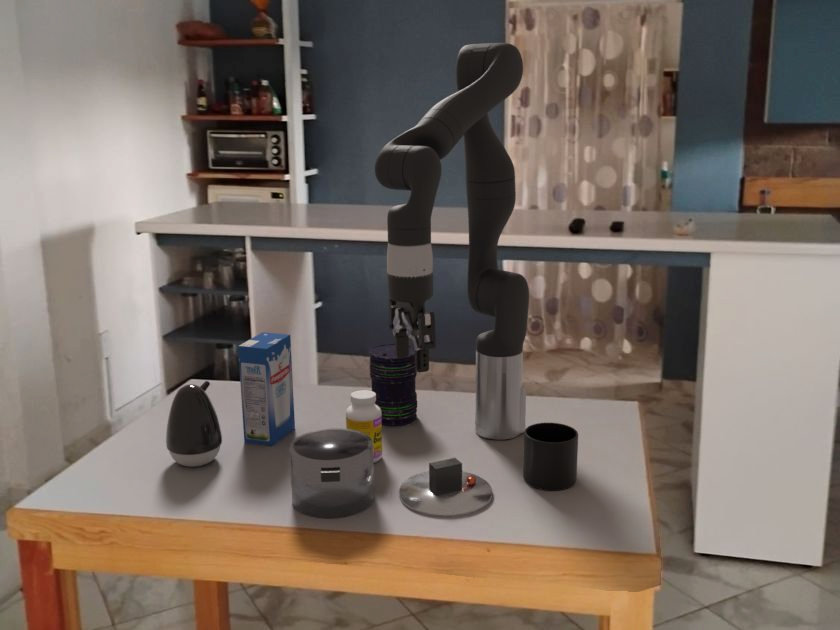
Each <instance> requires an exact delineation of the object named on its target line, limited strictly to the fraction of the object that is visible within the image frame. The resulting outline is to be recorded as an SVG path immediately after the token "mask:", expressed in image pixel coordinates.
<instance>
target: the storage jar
mask: <svg viewBox="0 0 840 630" xmlns="http://www.w3.org/2000/svg"><path fill="white" fill-rule="evenodd" d="M417 373H418V372H417V371H416V370H415V347H413V346H411V345H409V355H408V356H407V357H403V358H398V357H397V356H396V354H395V343H387V344H380V345H377V346H374V347H372V348H370V349H369V376H370V377H369V378H370V379H371V391H373V392H375V394H376V401H375V404H376V405H377V406H379V407H380V409H381V415H382V427H385V428H400V427H401V428H402V427H407V426H409V425H412V424H414V423H415V422H416V421H417V420H418V416H417V412H418V394H417V392H416V391H417V390H416V389H417V388H416V377H417Z"/></svg>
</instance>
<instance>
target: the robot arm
mask: <svg viewBox="0 0 840 630" xmlns="http://www.w3.org/2000/svg"><path fill="white" fill-rule="evenodd" d="M455 62H456V65H455V78H456V87H457V91H456V92H455V93H452V94H451V95H447V97H445V98H444V99H442V100H440V101H438V102H437V103H436V104H435V105H433V106H432V107H431V108H430V109H429V110H428V111H427V112H426V113H425V115H424V116H423V117H422V118H421V119H420V120H419V122H417V124H416V125H415V126H414V127H412V128H410V129H408V130H406V131H404V132H403V133H400V135H397V136H396V137H395V138H393V139H392V140H390V141H389V142H388V143H387V144H385V145H384V146H383V148H382V149H381V150H380V151H379V153H378V155H377V156H376V160H375V163H374V175H375V178H376V180H377V182H378V183H379V184H380V185H381V186H382V187H384V188H386V189H389V190H396V191H398V190H399V191H410V196H409V199H408V201H407V203H403V204H397V205H394V206H392V207H391V208H389V210H388V211H387V218H386V219H387V221H386V222H387V226H386V227H387V250H386V278H387V280H386V281H387V283H386V284H387V286H386V287H387V296H388V329H389V330H392V335H393V336H394V344H395V354H396V356H397V357H398V358H403V357H407V356H408V355H409V346H410V344H409V343H410V342H409V341H410V340H412V343H413V346H414V348H415V370H416V371H417V373H425V372H428V371H429V370H430V350H432V349H436V348H437V346H436V345H437V341H436V319H435V318H436V317H435V316H436V315H435V313H434V312H433V311H431V312H430V311H429V312H427V311H426V310H427V309H426V304H425V303H426V302H427V301H428V300H430V299H432V298H433V296H434V256H433V255H434V254H433V248H432V215H433V209H434V205H435V200H436V197H437V193H438V189H439V185H440V181H441V177H442V163H441V162H442V161H441V160H443V159H445V158H446V156H448V155H449V154H450V152H451V151H452V150H453V149H454V147H455V146H456V145H457V144H458V142H459V141H460V140H461V139H462V138H463V144H464V159H465V189H466V204H467V217H468V264H467V281H466V282H467V283H466V285H467V288H466V289H467V299H468V302H469V305H470V306H471V309H472V310H473V311H474V312H476V313H478V314H480V315H481V314H482V315H484V316H488V317H489V316H490V317H492V318H495V320H494V321H495V322H494V328H493V330H488V331H484V332H482V333H479V335H478V336H476V340H475V420H474V424H475V433H476V434H477V435H478V436H480V437H482V438H485V439H488V440H489V439H491V440H499V441H500V440H509V439H514V438H516V437H518V436H520V434H522V433H523V434H524V431H525V429H526V412H527V411H526V409H527V406H526V405H527V404H526V403H527V388H526V387H525V386H524V385H523V363H524V362H523V358H524V355H523V354H524V351H523V350H524V343H525V340H526V336H527V333H528V332H527V330H528V318H529V316H528V315H529V305H530V288H529V284H528V282H527V279H526V278H525V277H524V275H522V274H520V273H516V272H514V271H513V272H512V271H510V270H502V269H499V267H498V245H499V244H498V243H499V241H500V237H501V234H502V232H503V230H504V228H505V227H506V225H507V224H508V222H509V219H510V217H511V216H512V213H513V211H514V208H515V205H516V195H517V194H516V193H517V192H516V191H517V190H516V173H515V172H516V171H515V166H514V163H513V161H512V159H511V157H510V155H509V152H508V151H507V150H506V148H505V146H504V145H503V143H502V141H501V140H500V139H499V137H498V136H497V134H496V132H495V130H494V129H493V126H492V124H491V121H490V119H489V114H488V113H490V112H491V111H492V110H493V109H494V108H496V107H497V106H498V105H500V104H501V103H502V102H503V101H504V100H506V99H507V98H508V97H510V96H511V95H512V94H514V92H516V90H517V89H518V87H519V86H520V84H521V81H522V78H523V73H524V63H523V57H522V54H521V51H520V49H518V47H517V46H516V45H514V44H511V43H508V42H488V43H487V42H486V43H471V44H465V45H464V46H462V47H461V48H460V49H459V52H458V54H457V58H456V61H455ZM409 339H410V340H409Z"/></svg>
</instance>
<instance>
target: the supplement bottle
mask: <svg viewBox="0 0 840 630" xmlns="http://www.w3.org/2000/svg"><path fill="white" fill-rule="evenodd" d="M375 401H376V394H375V392H373V391H372V390H367V389H366V390H365V389H362V390H356V391H352V392H351V393H350V402H351V405H349V406H348V407H347V409H346V410H345V423H346V428H345V429H350V430H355V431H359V432H362V433H364V434H366V435H368V436H369V437H370V438H371V439H372V441H373V464H374V463H376V462H378V461H380V460H381V459H382V457H383V426H382V415H381V409H380V407H379V406H377V405H376V404H375Z"/></svg>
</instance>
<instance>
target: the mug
mask: <svg viewBox="0 0 840 630" xmlns="http://www.w3.org/2000/svg"><path fill="white" fill-rule="evenodd" d="M578 450H579V433H578V431H577V430H576V428H574V427H572V426H570V425H568V424H563V423H559V422H538V423H534V424H531V425H528V426H527V427H525V431H524V432H523V462H522V463H523V467H522V468H523V469H522V477H523V480H524V482H525V483H526V484H528V485H529V486H531V487H533V488H535V489H538V490H542V491H543V490H544V491H563V490H566V489H569V488H571V487H572V486H573V485H575V483H576V481H577V474H578V473H577V472H578V455H579V454H578Z"/></svg>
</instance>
